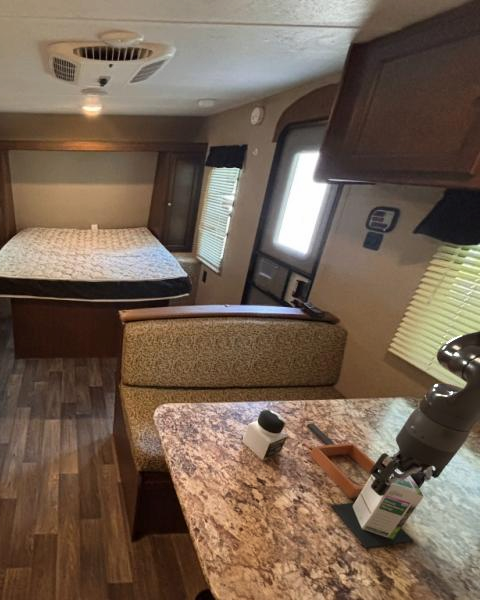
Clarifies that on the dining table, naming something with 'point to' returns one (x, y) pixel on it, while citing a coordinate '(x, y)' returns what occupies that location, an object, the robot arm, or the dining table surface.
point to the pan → (337, 449)
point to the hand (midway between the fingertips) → (393, 489)
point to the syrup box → (387, 506)
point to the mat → (366, 536)
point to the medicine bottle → (266, 435)
